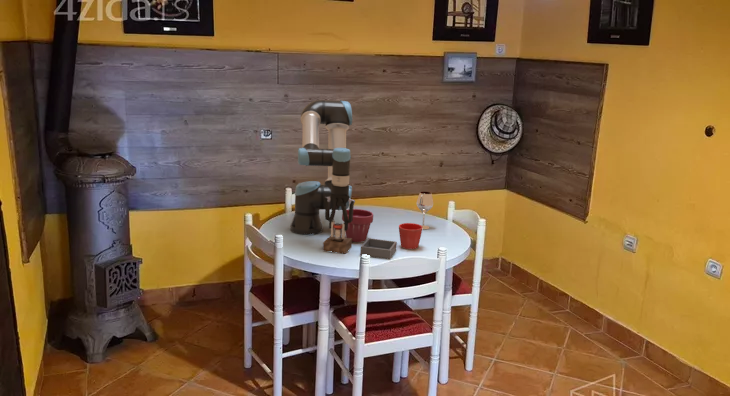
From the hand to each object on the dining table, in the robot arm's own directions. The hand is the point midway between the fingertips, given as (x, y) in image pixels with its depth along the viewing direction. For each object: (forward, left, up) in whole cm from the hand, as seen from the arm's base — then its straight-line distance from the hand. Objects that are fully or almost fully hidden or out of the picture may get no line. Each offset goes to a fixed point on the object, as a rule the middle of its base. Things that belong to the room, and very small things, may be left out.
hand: (338, 236), depth 265 cm
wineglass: (+30, +49, -6) cm, 58 cm away
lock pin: (0, 0, -6) cm, 6 cm away
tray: (+18, +2, -6) cm, 19 cm away
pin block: (0, 0, -6) cm, 6 cm away
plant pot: (+4, +17, -6) cm, 18 cm away
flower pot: (+29, +16, -6) cm, 34 cm away
